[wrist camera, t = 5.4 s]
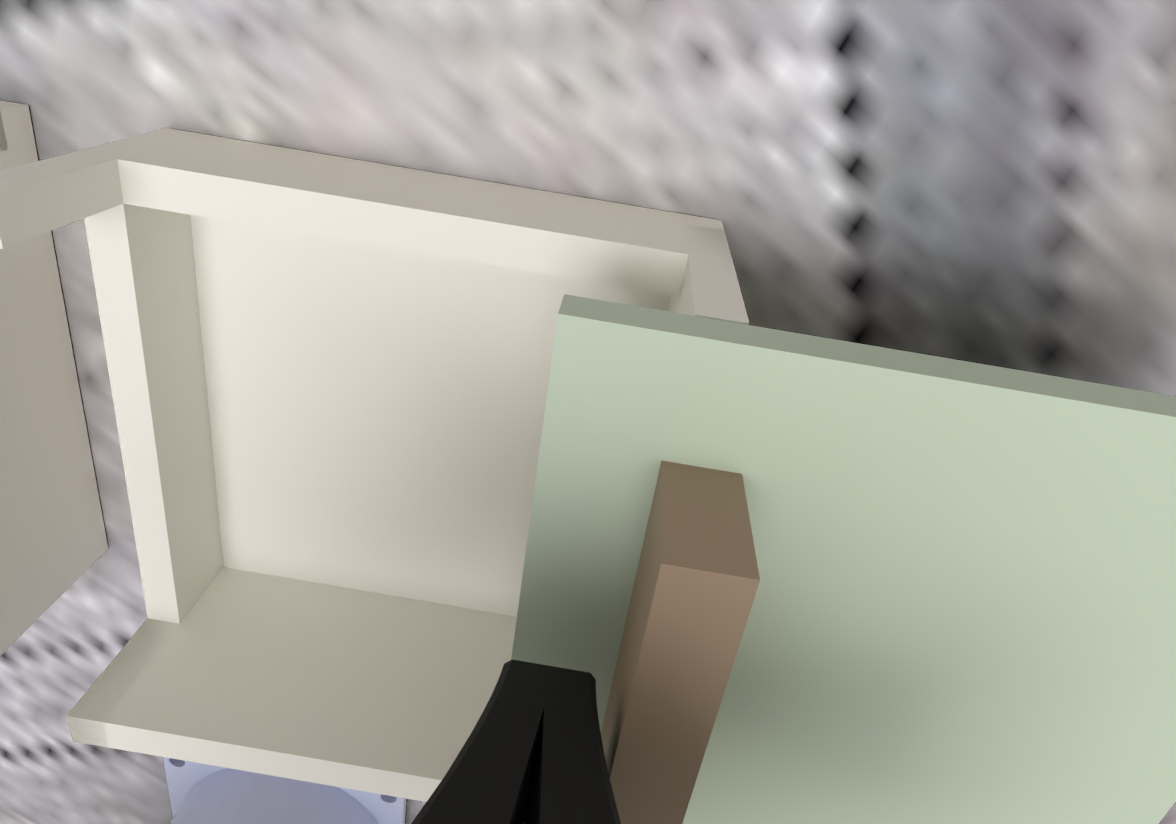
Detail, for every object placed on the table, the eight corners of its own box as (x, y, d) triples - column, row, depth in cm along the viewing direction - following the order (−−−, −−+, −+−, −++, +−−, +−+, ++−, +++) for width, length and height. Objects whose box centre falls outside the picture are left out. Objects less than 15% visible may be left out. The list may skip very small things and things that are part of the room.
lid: (1042, 912, 17) (1118, 1094, 14) (492, 817, 17) (458, 981, 14) (1389, 432, 11) (1632, 576, 8) (564, 294, 11) (532, 391, 9)
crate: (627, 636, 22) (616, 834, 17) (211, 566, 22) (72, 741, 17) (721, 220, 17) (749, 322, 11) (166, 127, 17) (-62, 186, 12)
